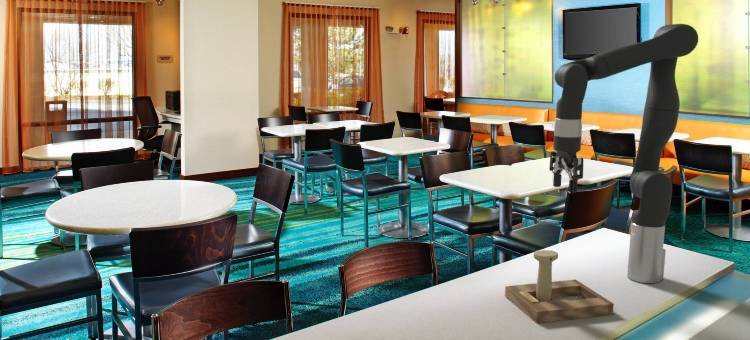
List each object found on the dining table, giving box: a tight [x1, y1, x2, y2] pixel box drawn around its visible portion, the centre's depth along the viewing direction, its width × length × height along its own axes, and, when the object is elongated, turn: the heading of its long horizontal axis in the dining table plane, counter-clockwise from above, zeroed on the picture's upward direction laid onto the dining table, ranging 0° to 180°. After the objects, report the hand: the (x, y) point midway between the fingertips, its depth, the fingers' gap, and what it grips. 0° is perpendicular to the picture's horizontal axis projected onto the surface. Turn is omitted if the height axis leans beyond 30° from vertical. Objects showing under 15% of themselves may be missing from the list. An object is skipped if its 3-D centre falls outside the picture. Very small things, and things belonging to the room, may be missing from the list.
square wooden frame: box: [504, 279, 615, 324], centre depth 166 cm, size 22×18×3 cm
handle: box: [533, 249, 559, 302], centre depth 164 cm, size 5×6×15 cm
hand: (564, 189), depth 178 cm, fingers open, 8 cm apart
